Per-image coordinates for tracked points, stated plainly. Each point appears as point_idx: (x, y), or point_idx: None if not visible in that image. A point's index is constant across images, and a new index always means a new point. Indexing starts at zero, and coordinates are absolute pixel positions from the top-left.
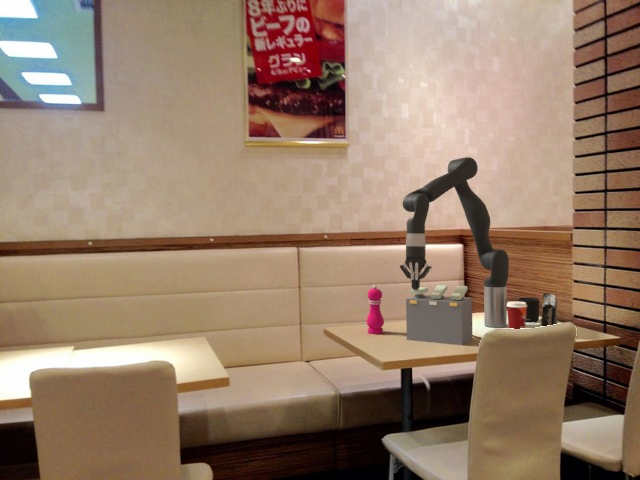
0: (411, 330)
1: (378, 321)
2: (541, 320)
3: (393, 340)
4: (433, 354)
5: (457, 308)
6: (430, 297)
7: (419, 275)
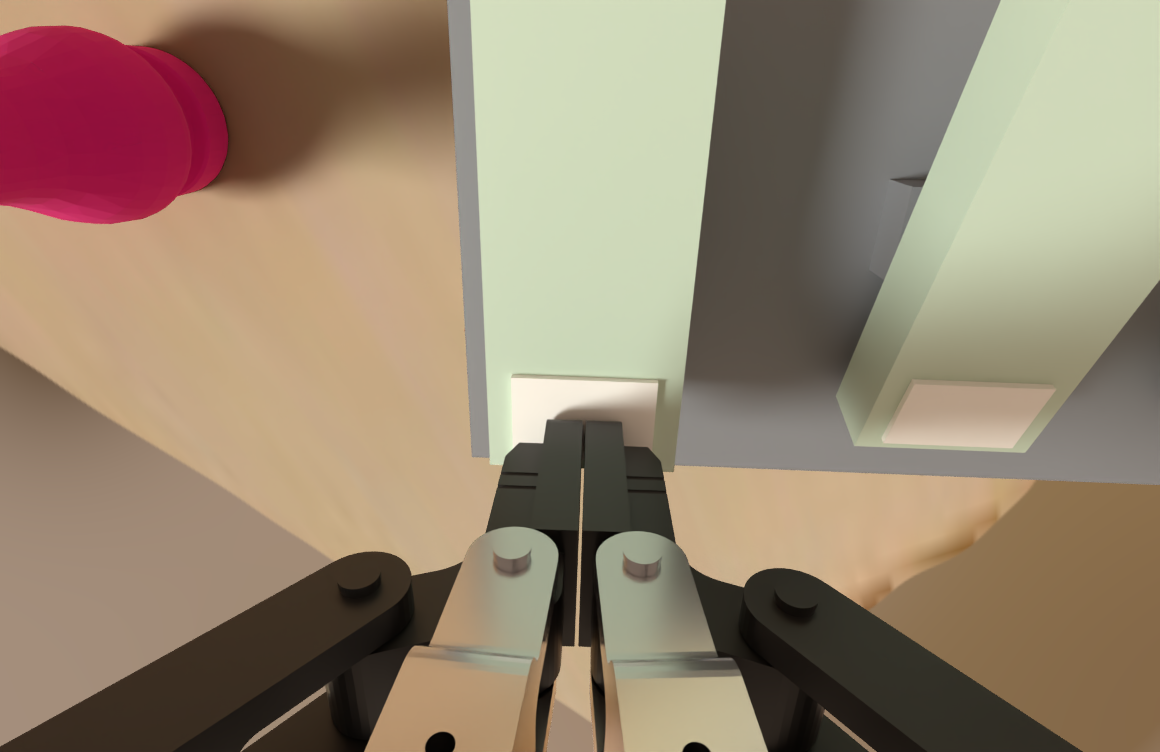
0: None
1: (157, 196)
2: None
3: (455, 345)
4: (819, 578)
5: None
6: (784, 182)
7: (686, 656)
